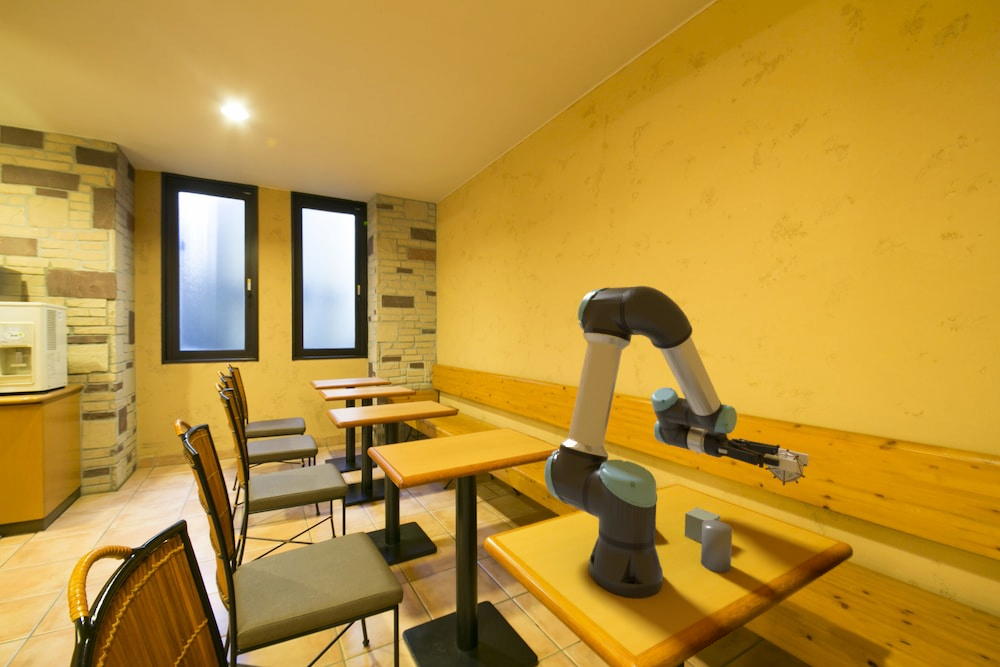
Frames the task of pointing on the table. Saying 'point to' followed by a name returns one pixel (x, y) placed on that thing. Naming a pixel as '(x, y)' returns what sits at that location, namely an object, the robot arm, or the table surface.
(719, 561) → the gray cylinder
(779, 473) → the game die
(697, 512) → the olive block
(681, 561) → the table surface
